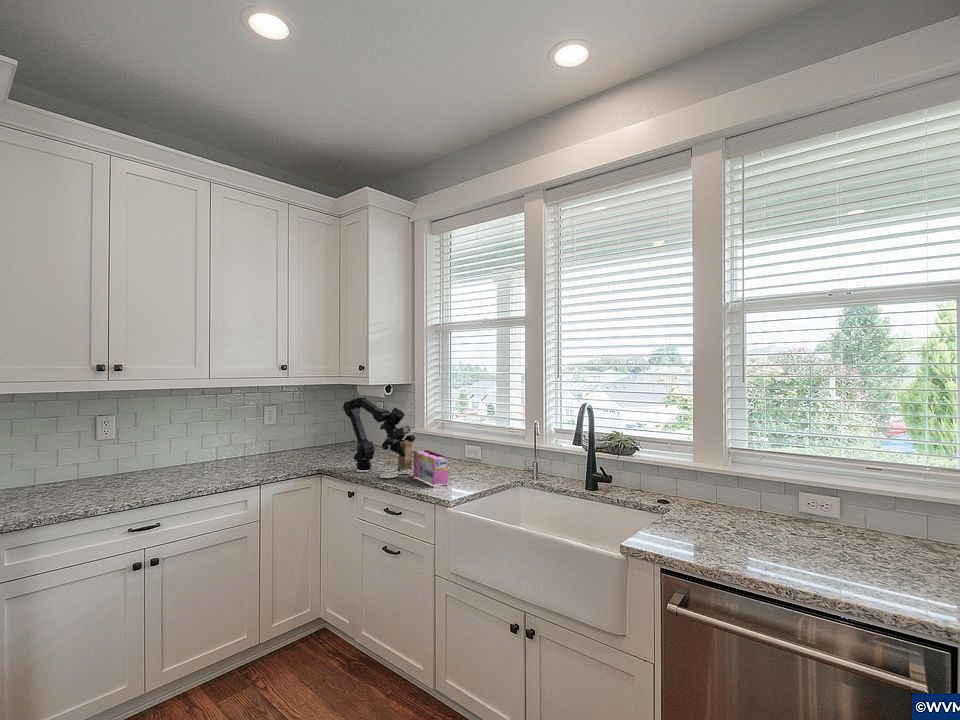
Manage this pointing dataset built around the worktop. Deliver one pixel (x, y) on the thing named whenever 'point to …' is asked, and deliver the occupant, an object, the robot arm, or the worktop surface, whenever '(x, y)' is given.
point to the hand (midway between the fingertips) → (407, 455)
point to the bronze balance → (392, 462)
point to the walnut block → (407, 459)
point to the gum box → (431, 467)
